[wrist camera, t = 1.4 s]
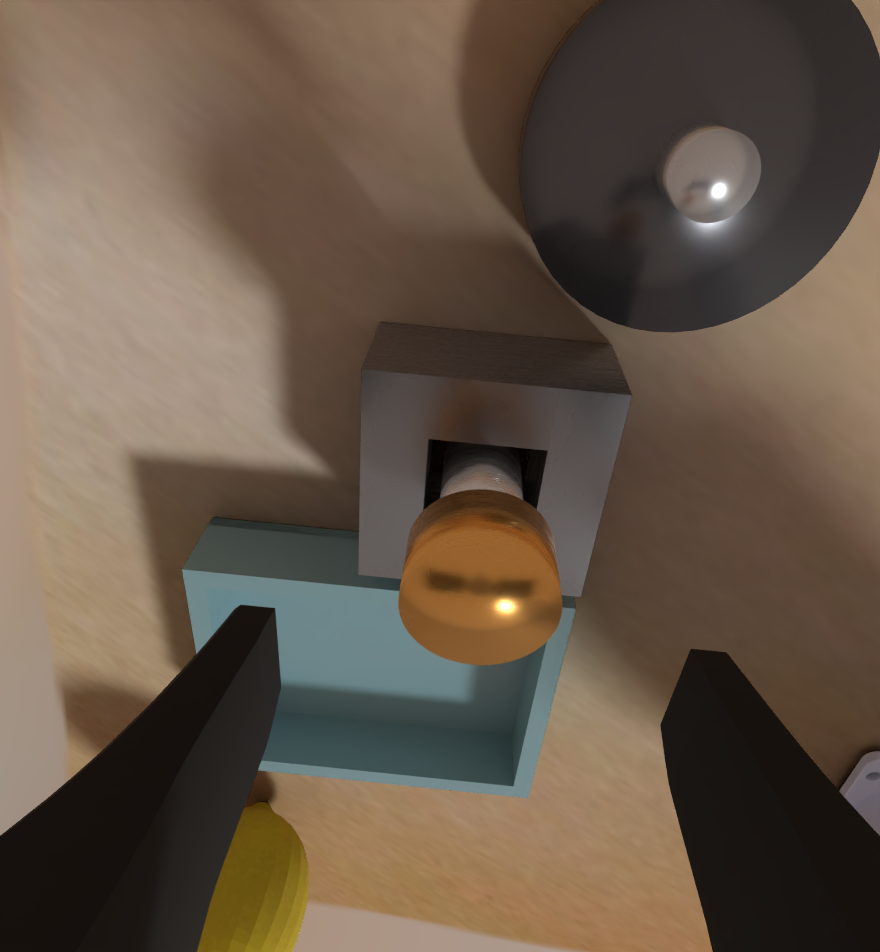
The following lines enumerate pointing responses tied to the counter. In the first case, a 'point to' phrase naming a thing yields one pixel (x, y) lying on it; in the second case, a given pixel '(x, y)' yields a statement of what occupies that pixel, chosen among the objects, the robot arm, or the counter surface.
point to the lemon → (259, 888)
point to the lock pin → (480, 563)
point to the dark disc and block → (632, 241)
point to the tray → (370, 668)
